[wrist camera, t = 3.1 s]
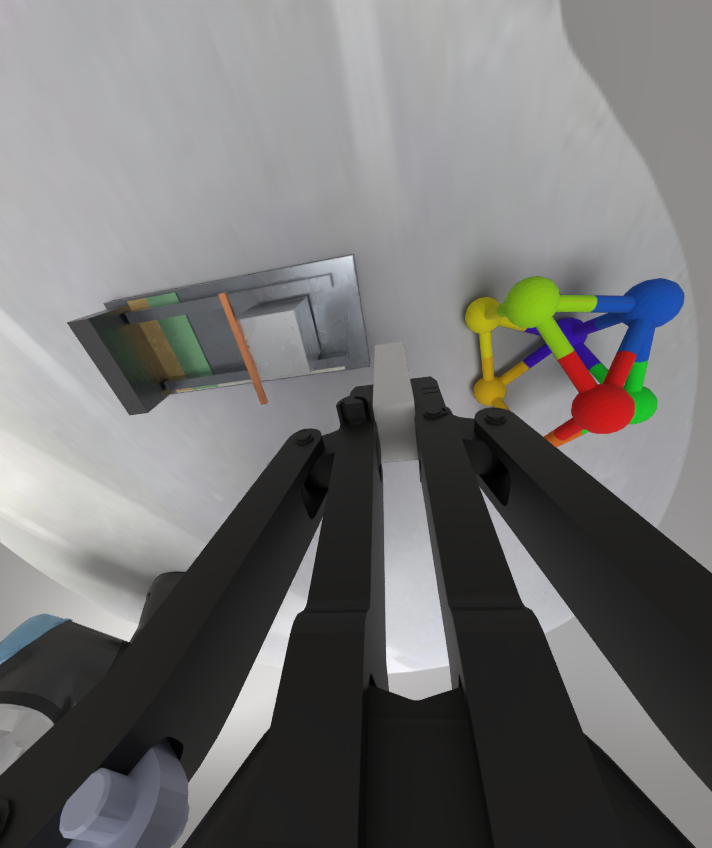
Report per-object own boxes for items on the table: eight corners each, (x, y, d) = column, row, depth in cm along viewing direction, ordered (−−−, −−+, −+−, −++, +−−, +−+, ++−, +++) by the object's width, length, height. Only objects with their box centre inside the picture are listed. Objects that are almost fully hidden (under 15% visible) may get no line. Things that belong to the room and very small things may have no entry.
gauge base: (164, 391, 35) (127, 420, 30) (112, 300, 30) (57, 317, 25) (370, 361, 32) (368, 389, 27) (353, 254, 26) (347, 261, 21)
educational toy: (601, 359, 31) (744, 466, 20) (476, 407, 35) (533, 520, 24) (594, 194, 23) (835, 209, 11) (430, 281, 27) (483, 358, 15)
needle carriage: (278, 377, 32) (261, 404, 27) (245, 281, 27) (218, 294, 22) (325, 370, 31) (315, 397, 26) (300, 271, 26) (284, 282, 21)
